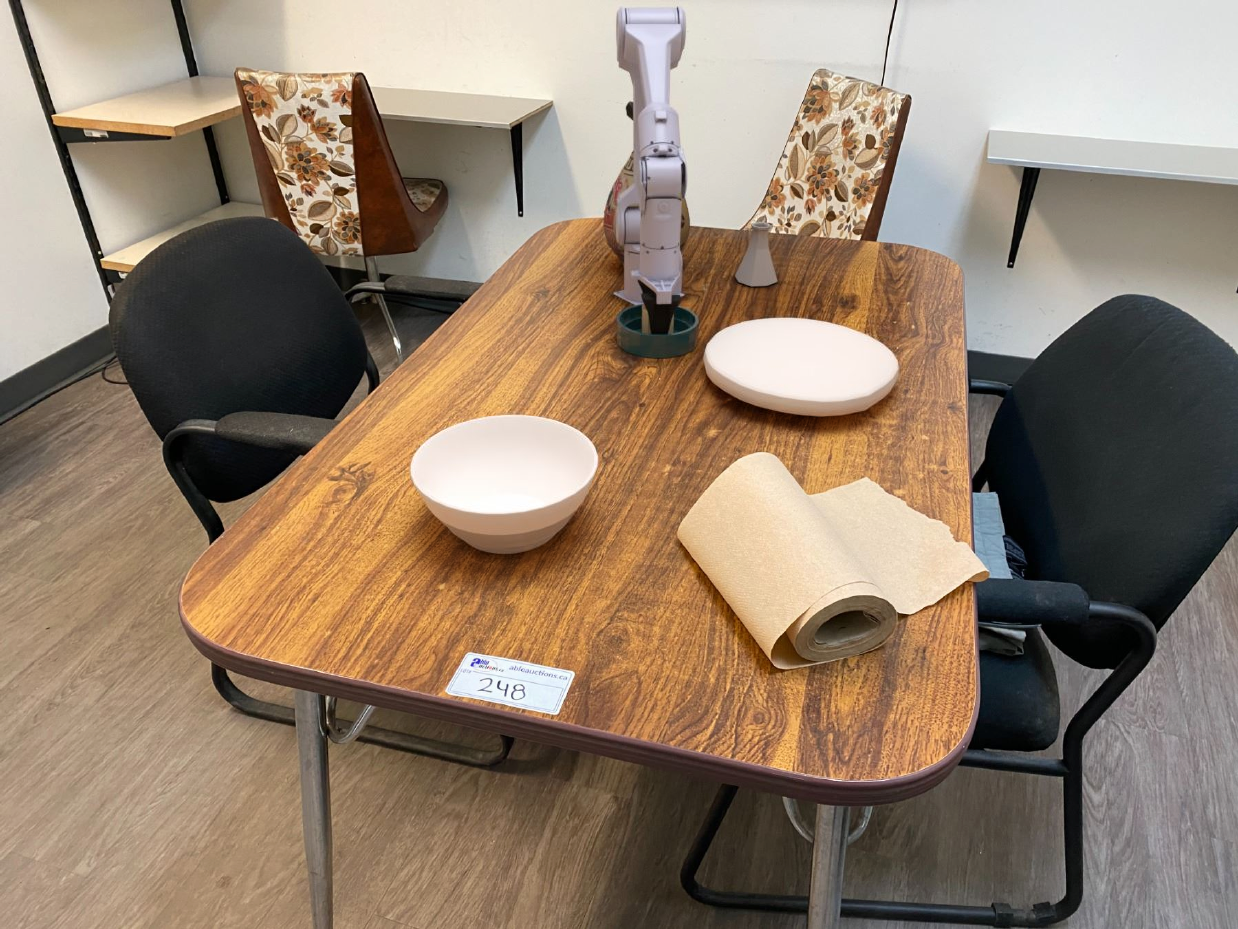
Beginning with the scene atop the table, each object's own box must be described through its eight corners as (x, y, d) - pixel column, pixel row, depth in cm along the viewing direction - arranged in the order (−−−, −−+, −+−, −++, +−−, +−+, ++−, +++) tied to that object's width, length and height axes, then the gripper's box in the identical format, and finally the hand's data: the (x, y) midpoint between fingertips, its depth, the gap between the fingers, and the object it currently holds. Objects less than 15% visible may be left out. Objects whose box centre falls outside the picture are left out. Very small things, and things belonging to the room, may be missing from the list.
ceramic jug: (597, 255, 172) (595, 85, 156) (676, 250, 174) (683, 82, 158) (612, 288, 158) (613, 105, 142) (699, 282, 160) (709, 102, 144)
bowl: (509, 457, 111) (505, 397, 106) (635, 517, 100) (636, 453, 96) (380, 531, 98) (370, 466, 94) (509, 608, 88) (503, 539, 83)
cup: (658, 331, 141) (659, 298, 138) (679, 342, 138) (680, 308, 135) (634, 339, 139) (635, 305, 136) (654, 350, 135) (655, 316, 132)
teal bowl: (662, 321, 146) (663, 296, 143) (713, 348, 138) (715, 322, 135) (600, 340, 140) (600, 315, 137) (650, 369, 131) (651, 342, 129)
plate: (716, 304, 140) (895, 319, 135) (713, 344, 142) (888, 361, 138) (693, 365, 115) (911, 387, 111) (689, 412, 118) (902, 436, 113)
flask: (727, 276, 163) (731, 221, 158) (762, 270, 165) (767, 215, 160) (749, 290, 157) (754, 233, 152) (784, 284, 160) (790, 227, 155)
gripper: (628, 227, 136) (627, 312, 143) (636, 260, 124) (634, 352, 131) (675, 226, 136) (671, 311, 144) (687, 259, 124) (683, 351, 131)
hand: (657, 330), depth 137 cm, fingers closed on cup, 5 cm apart
